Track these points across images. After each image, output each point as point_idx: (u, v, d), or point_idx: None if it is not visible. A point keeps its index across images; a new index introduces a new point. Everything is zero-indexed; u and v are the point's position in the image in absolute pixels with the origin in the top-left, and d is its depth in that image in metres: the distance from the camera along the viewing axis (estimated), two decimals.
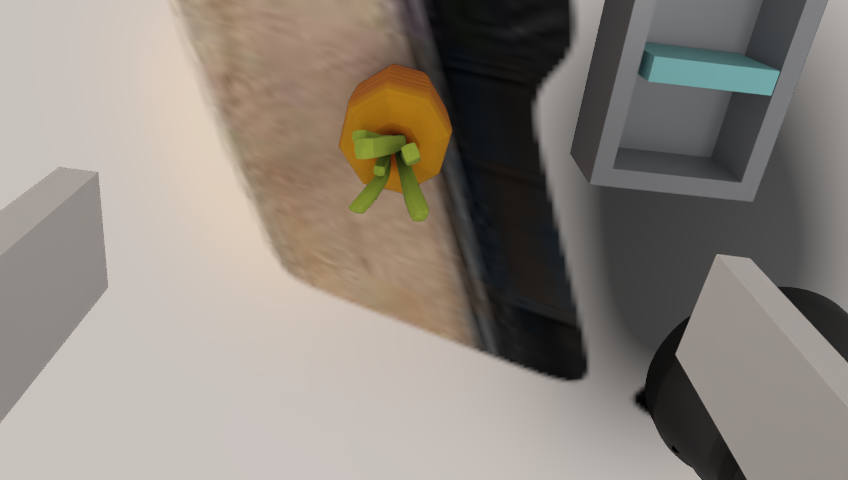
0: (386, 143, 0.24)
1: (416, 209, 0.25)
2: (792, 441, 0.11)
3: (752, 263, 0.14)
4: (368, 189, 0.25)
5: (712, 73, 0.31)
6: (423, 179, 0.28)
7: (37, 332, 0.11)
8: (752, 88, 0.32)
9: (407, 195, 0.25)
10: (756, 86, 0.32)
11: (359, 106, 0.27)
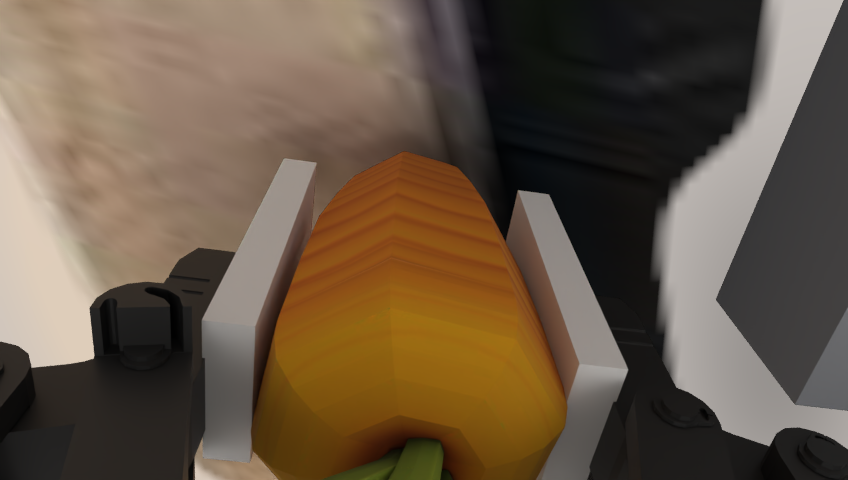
0: None
1: None
2: None
3: (548, 197, 0.15)
4: None
5: None
6: None
7: None
8: None
9: None
10: None
11: (306, 354, 0.09)
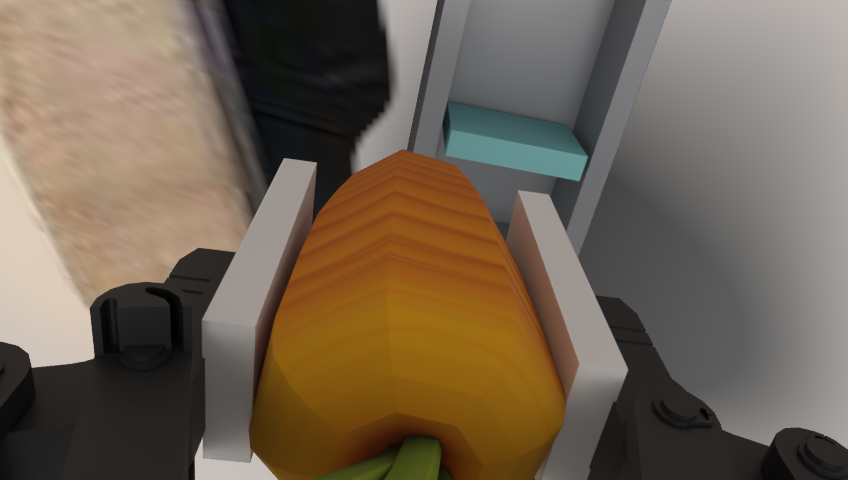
0: None
1: None
2: None
3: (547, 198, 0.15)
4: None
5: (514, 152, 0.29)
6: None
7: None
8: (559, 172, 0.29)
9: None
10: (563, 170, 0.29)
11: (303, 351, 0.09)
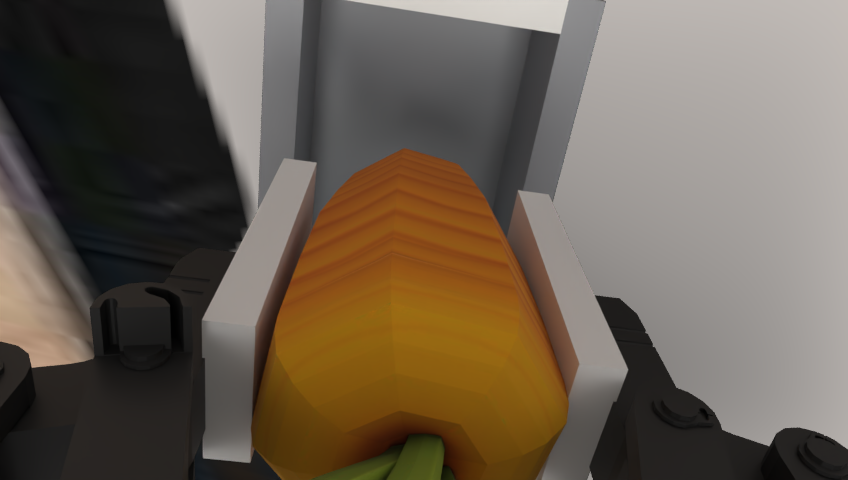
0: None
1: None
2: None
3: (547, 198, 0.15)
4: None
5: None
6: None
7: None
8: None
9: None
10: None
11: (306, 349, 0.09)
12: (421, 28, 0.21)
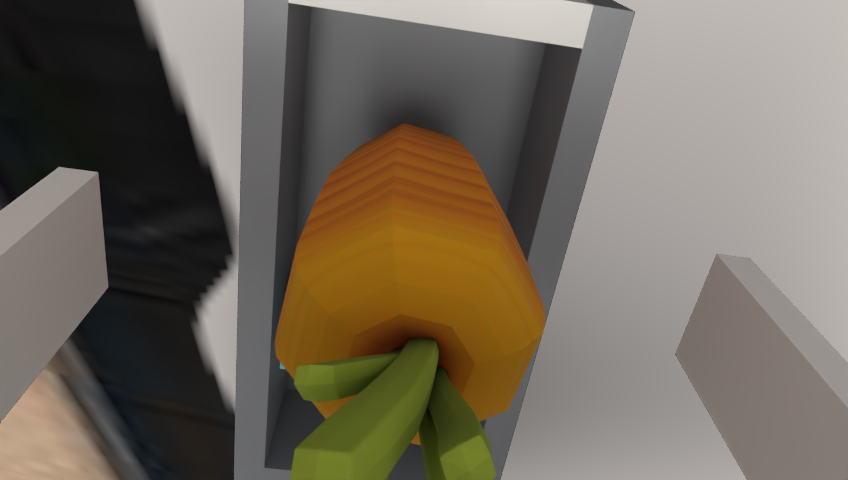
0: (393, 436, 0.08)
1: None
2: (792, 441, 0.11)
3: (752, 263, 0.14)
4: None
5: None
6: None
7: (36, 332, 0.11)
8: None
9: None
10: None
11: (322, 266, 0.10)
12: (422, 38, 0.19)
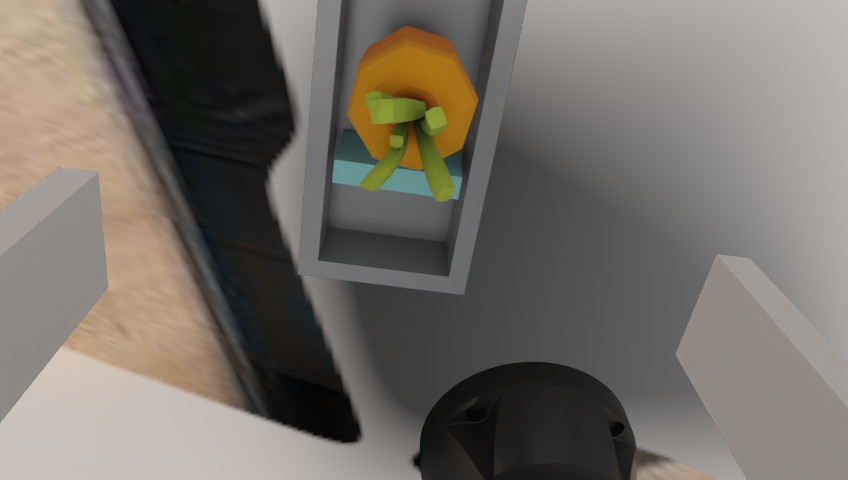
0: (407, 106, 0.20)
1: (441, 187, 0.21)
2: (792, 441, 0.11)
3: (752, 263, 0.14)
4: (383, 162, 0.22)
5: (394, 176, 0.31)
6: (444, 155, 0.24)
7: (36, 332, 0.11)
8: None
9: (430, 170, 0.21)
10: None
11: (373, 66, 0.23)
12: None
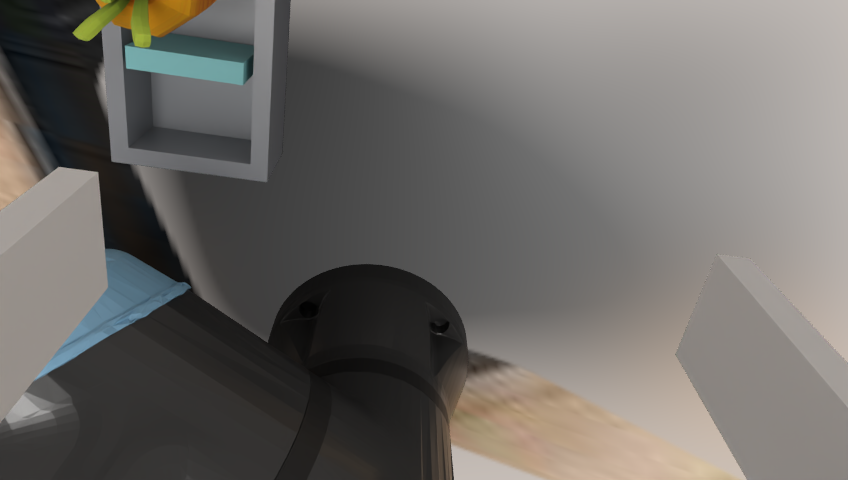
0: None
1: (135, 32, 0.24)
2: (792, 441, 0.11)
3: (752, 263, 0.14)
4: (93, 15, 0.25)
5: (182, 62, 0.35)
6: (173, 20, 0.28)
7: (36, 332, 0.11)
8: (224, 78, 0.35)
9: (131, 20, 0.25)
10: (226, 76, 0.35)
11: None
12: None
